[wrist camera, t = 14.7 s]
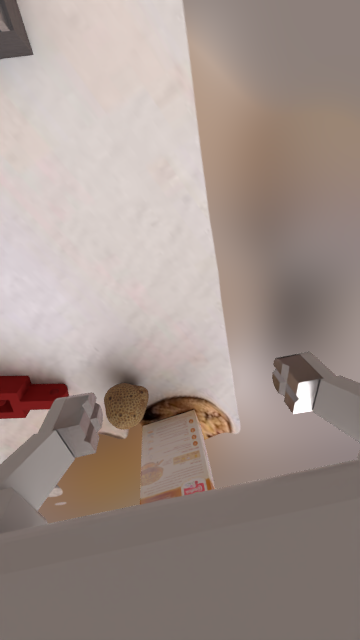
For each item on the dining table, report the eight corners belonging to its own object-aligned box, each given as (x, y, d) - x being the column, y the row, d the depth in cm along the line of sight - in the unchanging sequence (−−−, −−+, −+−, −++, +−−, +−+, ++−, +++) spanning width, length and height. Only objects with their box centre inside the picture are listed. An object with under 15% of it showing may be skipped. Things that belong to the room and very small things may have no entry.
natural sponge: (99, 388, 50) (88, 427, 41) (124, 365, 47) (118, 401, 39) (130, 404, 53) (126, 444, 45) (154, 384, 51) (155, 421, 42)
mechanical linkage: (-3, 399, 48) (-18, 419, 44) (-13, 375, 45) (-31, 394, 40) (73, 397, 50) (66, 416, 46) (68, 374, 47) (60, 392, 43)
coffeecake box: (151, 439, 61) (151, 531, 44) (141, 425, 58) (137, 518, 41) (201, 424, 60) (221, 510, 43) (194, 408, 57) (213, 495, 40)
